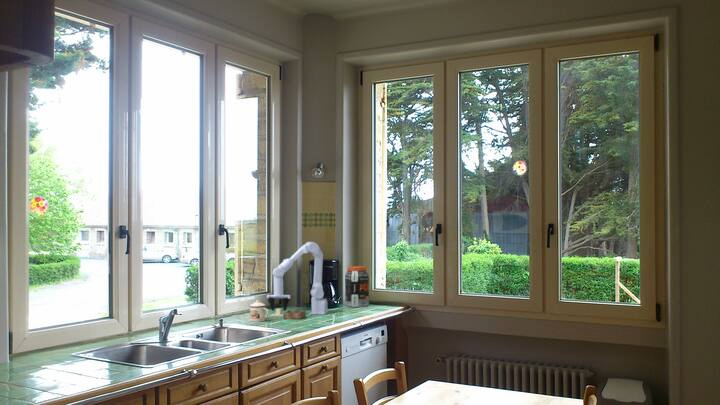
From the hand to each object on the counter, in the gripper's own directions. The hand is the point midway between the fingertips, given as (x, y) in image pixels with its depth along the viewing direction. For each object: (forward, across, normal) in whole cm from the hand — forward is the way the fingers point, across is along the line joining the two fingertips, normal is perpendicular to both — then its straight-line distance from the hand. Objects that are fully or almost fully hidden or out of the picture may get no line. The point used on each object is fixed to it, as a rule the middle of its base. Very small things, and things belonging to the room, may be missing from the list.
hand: (278, 310), depth 393 cm
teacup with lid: (+4, -4, -19) cm, 20 cm away
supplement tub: (+4, +35, +51) cm, 62 cm away
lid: (+3, 0, 0) cm, 3 cm away
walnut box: (+3, +12, -6) cm, 14 cm away
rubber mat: (+3, 0, 0) cm, 3 cm away
